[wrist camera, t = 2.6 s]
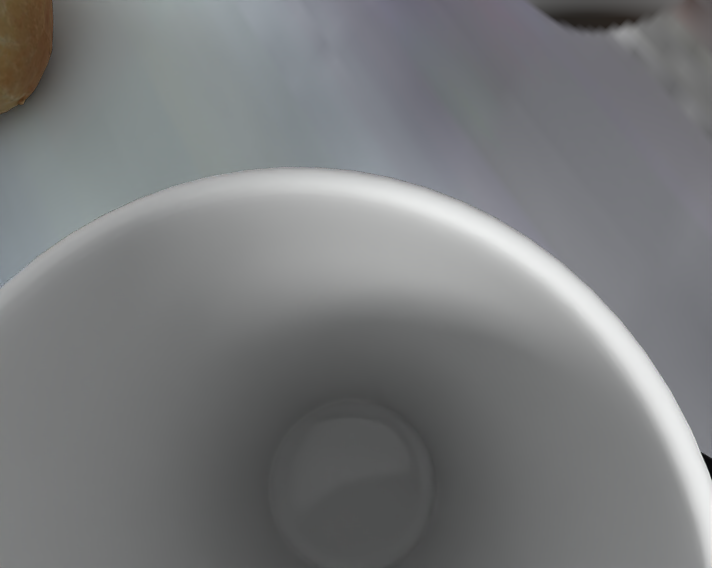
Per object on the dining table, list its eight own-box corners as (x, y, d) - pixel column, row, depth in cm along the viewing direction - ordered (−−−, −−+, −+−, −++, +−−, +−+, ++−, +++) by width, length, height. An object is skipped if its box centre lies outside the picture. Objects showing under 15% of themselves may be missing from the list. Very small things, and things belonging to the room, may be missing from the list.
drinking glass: (358, 656, 17) (265, 1626, 3) (201, 485, 19) (-372, 591, 4) (510, 478, 19) (965, 564, 4) (351, 330, 20) (281, 13, 6)
